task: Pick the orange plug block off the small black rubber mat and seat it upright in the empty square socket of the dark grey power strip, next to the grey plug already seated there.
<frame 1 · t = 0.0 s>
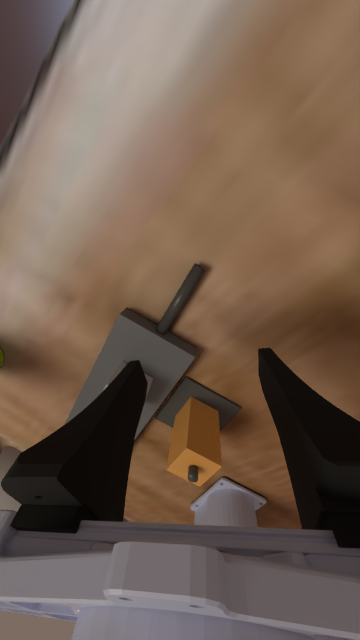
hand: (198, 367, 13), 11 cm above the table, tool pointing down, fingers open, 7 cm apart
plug: (196, 413, 28), resting on mat
mat: (196, 411, 28), on the table
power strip: (119, 397, 29), on the table
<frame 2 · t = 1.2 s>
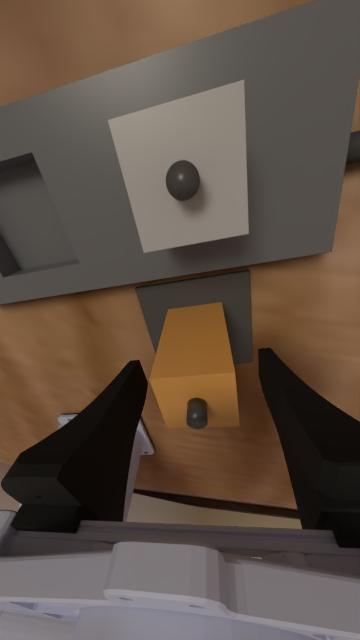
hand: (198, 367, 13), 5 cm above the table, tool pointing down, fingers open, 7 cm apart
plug: (198, 328, 17), resting on mat
mat: (198, 326, 17), on the table
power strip: (109, 203, 13), on the table
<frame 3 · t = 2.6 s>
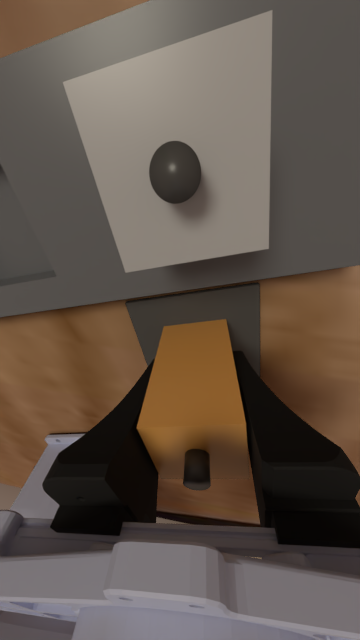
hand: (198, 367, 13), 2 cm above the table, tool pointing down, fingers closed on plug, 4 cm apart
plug: (198, 347, 15), resting on mat, touching gripper
mat: (198, 344, 15), on the table
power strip: (92, 204, 11), on the table
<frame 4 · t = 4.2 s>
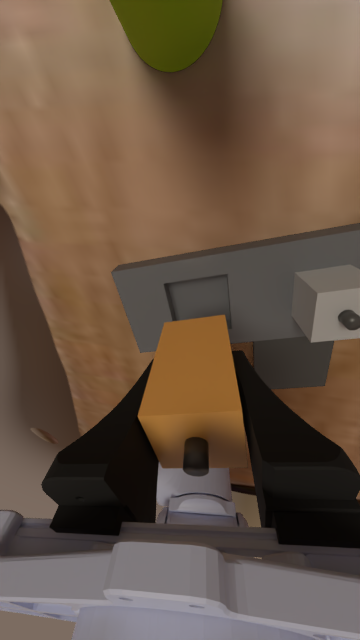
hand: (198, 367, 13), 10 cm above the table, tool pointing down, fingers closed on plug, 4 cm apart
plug: (198, 343, 15), point 7 cm above the table, touching gripper
mat: (290, 361, 25), on the table
soap dispenser: (171, 13, 12), on the table
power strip: (251, 290, 21), on the table
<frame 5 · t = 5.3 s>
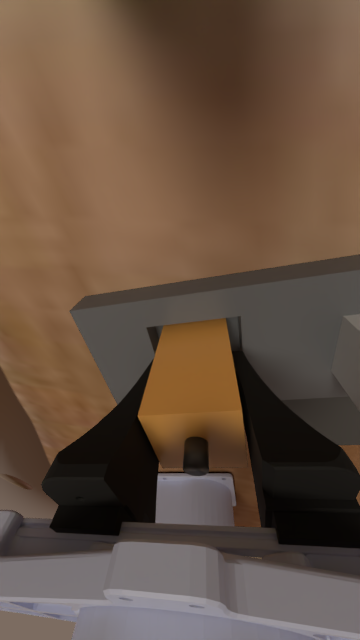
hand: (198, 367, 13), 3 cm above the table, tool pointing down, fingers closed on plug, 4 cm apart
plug: (198, 342, 15), resting on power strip, touching gripper
mat: (318, 416, 19), on the table
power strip: (272, 331, 15), on the table
when the fingers open (3 cm above the table, at t = 6.0 s): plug stays where it is, resting on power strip.
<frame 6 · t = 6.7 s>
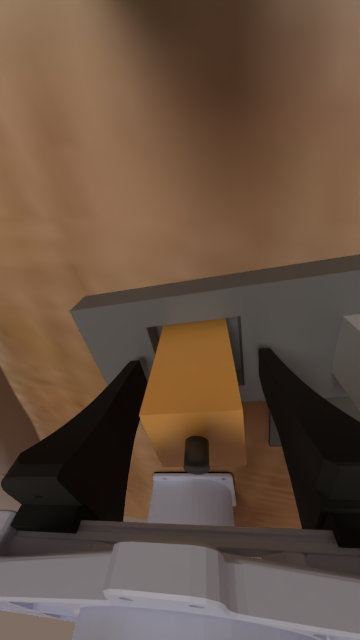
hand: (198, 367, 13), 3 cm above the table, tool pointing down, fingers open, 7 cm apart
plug: (198, 342, 15), resting on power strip
mat: (318, 416, 19), on the table
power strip: (272, 331, 15), on the table
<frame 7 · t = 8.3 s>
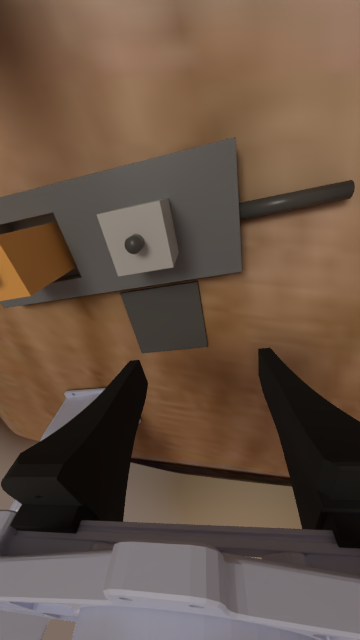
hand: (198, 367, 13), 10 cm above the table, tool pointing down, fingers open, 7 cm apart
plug: (50, 248, 20), resting on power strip
mat: (166, 320, 24), on the table
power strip: (101, 237, 20), on the table
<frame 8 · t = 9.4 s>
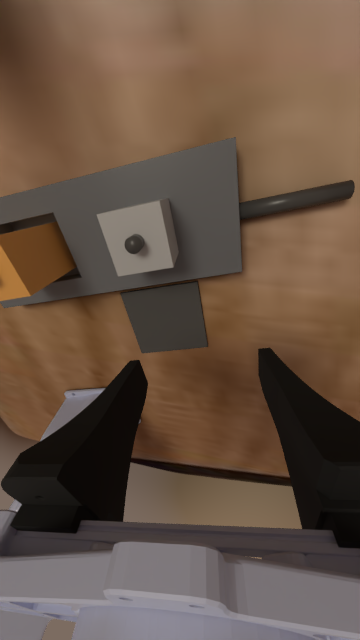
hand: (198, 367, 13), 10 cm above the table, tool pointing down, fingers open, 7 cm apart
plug: (50, 248, 20), resting on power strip
mat: (166, 320, 24), on the table
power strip: (101, 237, 20), on the table
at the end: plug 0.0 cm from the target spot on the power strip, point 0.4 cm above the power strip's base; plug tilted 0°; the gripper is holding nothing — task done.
